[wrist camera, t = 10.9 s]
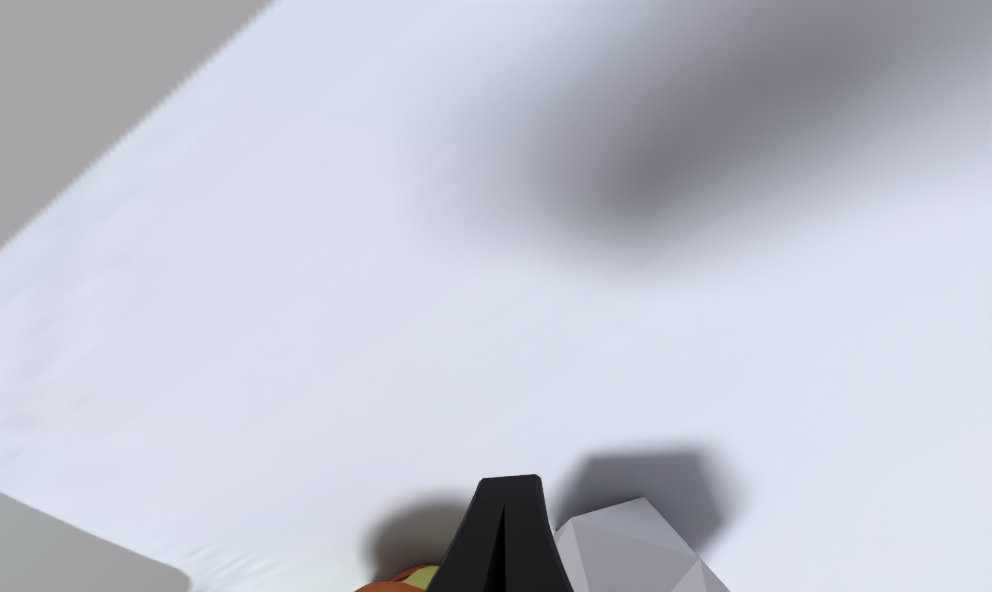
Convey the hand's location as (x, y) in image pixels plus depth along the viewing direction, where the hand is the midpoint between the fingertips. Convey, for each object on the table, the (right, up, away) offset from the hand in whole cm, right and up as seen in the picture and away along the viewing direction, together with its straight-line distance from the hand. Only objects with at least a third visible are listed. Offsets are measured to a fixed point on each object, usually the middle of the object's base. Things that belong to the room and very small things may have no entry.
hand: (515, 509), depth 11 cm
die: (+8, -5, +8) cm, 12 cm away
